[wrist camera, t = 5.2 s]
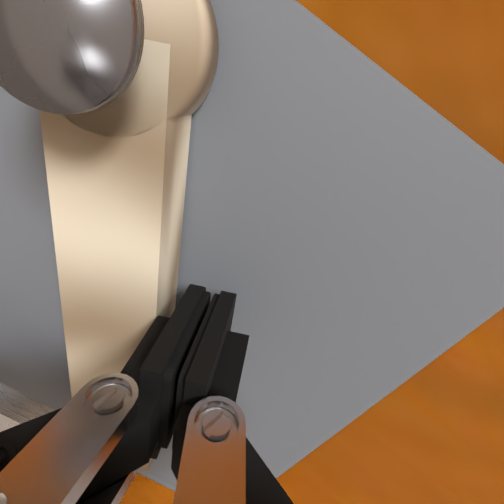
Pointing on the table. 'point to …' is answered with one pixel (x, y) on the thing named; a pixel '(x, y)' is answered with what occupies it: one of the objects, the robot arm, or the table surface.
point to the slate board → (288, 232)
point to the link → (112, 154)
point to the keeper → (18, 408)
